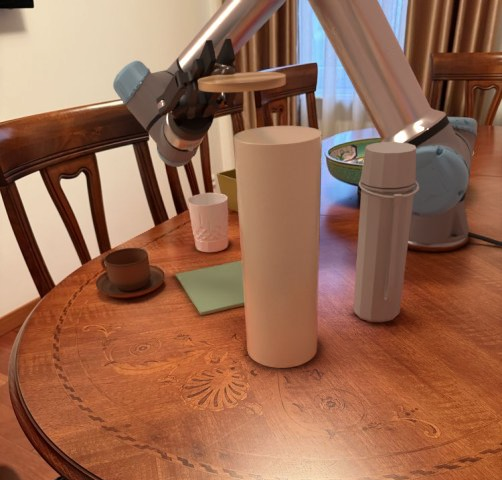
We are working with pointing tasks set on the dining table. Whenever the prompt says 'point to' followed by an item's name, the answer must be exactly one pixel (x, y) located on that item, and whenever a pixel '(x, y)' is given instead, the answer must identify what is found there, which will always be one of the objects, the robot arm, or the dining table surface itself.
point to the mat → (214, 287)
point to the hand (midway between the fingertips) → (221, 49)
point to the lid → (239, 80)
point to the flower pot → (229, 187)
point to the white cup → (209, 221)
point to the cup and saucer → (128, 274)
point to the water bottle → (384, 228)
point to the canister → (280, 240)
